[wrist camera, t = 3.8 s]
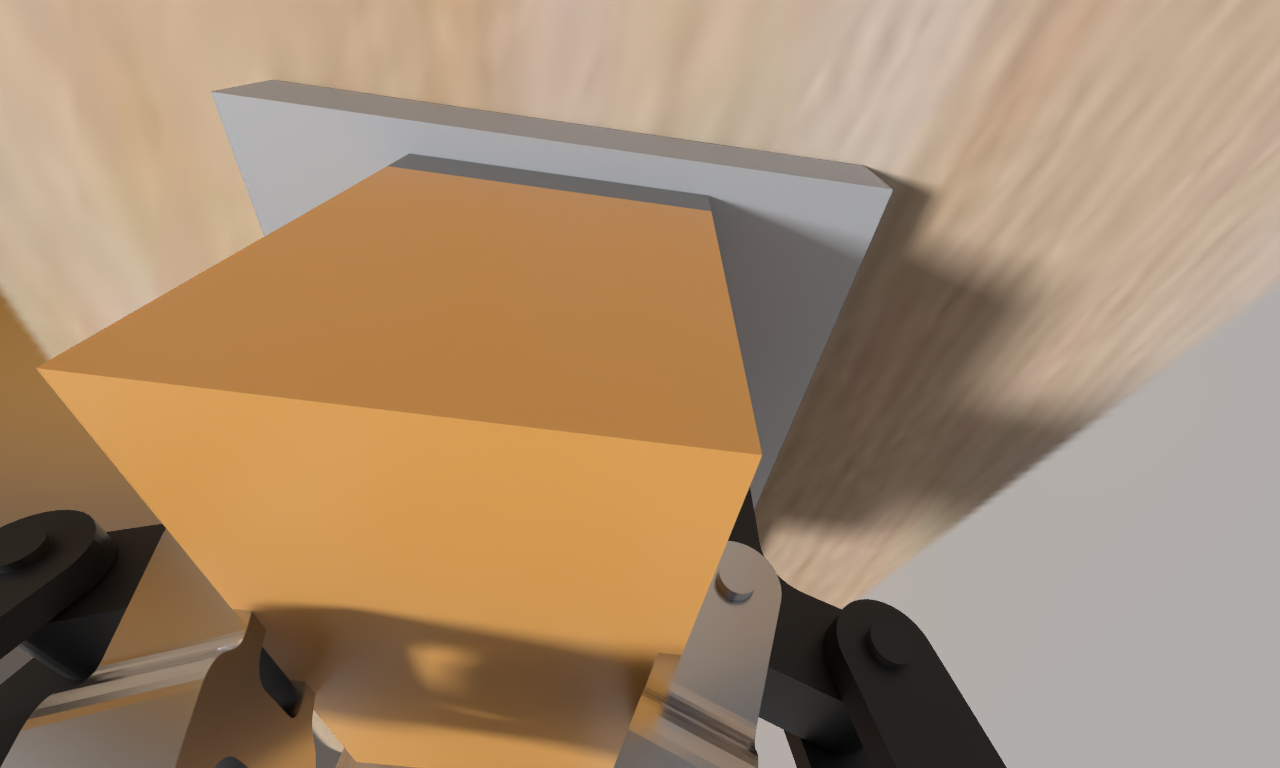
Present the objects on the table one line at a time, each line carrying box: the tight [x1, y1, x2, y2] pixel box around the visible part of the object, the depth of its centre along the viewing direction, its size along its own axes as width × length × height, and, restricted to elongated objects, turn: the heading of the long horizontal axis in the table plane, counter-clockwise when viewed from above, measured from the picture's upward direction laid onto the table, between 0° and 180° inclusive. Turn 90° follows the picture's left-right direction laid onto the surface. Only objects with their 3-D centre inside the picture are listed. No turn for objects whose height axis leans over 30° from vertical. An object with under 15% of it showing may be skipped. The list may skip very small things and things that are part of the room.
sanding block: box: [36, 153, 762, 768], centre depth 9 cm, size 9×5×6 cm, turn 173°
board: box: [211, 80, 893, 510], centre depth 15 cm, size 20×11×2 cm, turn 173°
